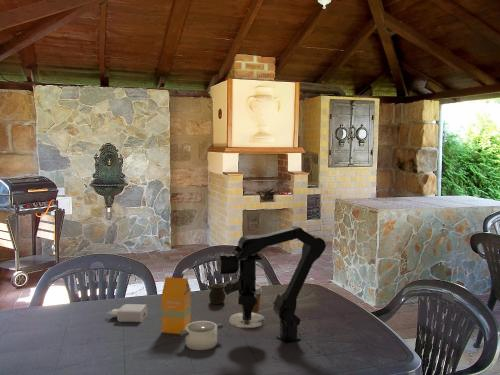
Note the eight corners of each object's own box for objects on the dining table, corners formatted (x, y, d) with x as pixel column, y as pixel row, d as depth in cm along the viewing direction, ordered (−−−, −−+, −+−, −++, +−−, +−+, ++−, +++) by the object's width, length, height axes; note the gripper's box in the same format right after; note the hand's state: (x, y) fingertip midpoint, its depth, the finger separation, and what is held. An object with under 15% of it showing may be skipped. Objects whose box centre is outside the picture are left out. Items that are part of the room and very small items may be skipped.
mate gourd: (208, 300, 206) (208, 278, 205) (224, 300, 207) (225, 278, 206) (209, 305, 198) (209, 283, 198) (226, 305, 200) (227, 282, 199)
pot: (228, 344, 160) (228, 327, 159) (187, 354, 152) (187, 336, 151) (214, 333, 169) (214, 317, 169) (174, 342, 161) (174, 325, 161)
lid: (271, 323, 158) (271, 306, 157) (240, 330, 152) (240, 313, 151) (252, 312, 169) (253, 296, 168) (223, 318, 162) (223, 302, 162)
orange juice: (184, 334, 168) (183, 281, 166) (161, 332, 170) (161, 280, 168) (191, 326, 176) (190, 275, 174) (169, 324, 177) (169, 274, 176)
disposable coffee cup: (261, 319, 183) (262, 290, 182) (238, 319, 184) (238, 290, 182) (261, 311, 193) (262, 283, 192) (239, 310, 193) (239, 283, 192)
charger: (111, 314, 189) (147, 314, 188) (103, 322, 180) (141, 323, 179) (111, 302, 188) (147, 303, 188) (103, 310, 179) (140, 311, 179)
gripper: (225, 265, 168) (225, 306, 169) (223, 280, 149) (223, 326, 151) (255, 265, 168) (255, 306, 169) (257, 280, 149) (256, 326, 151)
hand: (247, 316), depth 160 cm, fingers closed on lid, 3 cm apart
